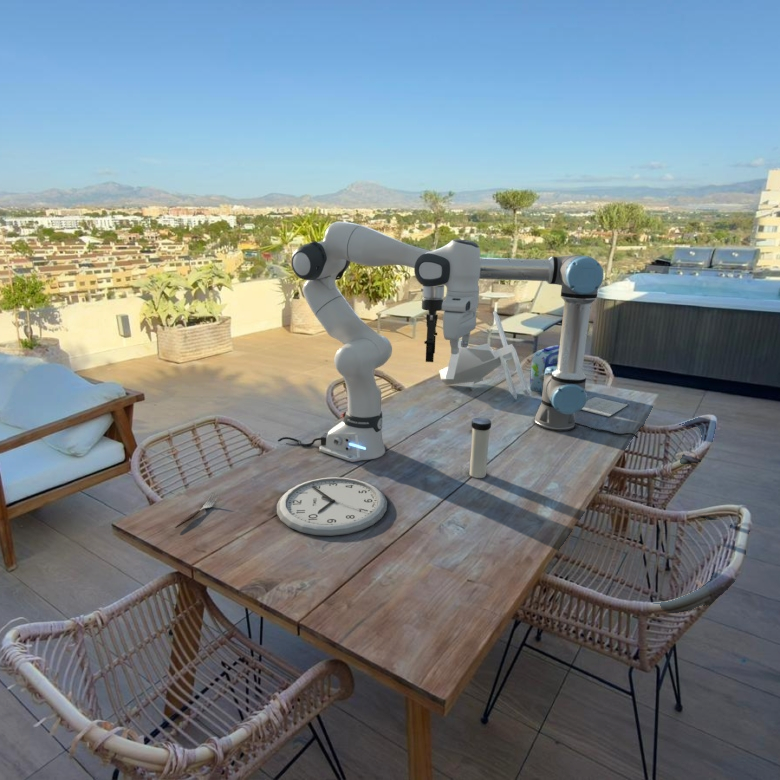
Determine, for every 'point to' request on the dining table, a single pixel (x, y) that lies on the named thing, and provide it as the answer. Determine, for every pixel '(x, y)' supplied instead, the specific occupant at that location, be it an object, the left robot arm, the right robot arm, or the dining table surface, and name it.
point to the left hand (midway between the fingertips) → (459, 350)
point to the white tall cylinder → (479, 453)
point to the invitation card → (603, 406)
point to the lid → (481, 424)
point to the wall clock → (331, 506)
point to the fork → (206, 505)
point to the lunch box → (542, 366)
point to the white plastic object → (483, 363)
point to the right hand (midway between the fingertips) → (430, 357)
